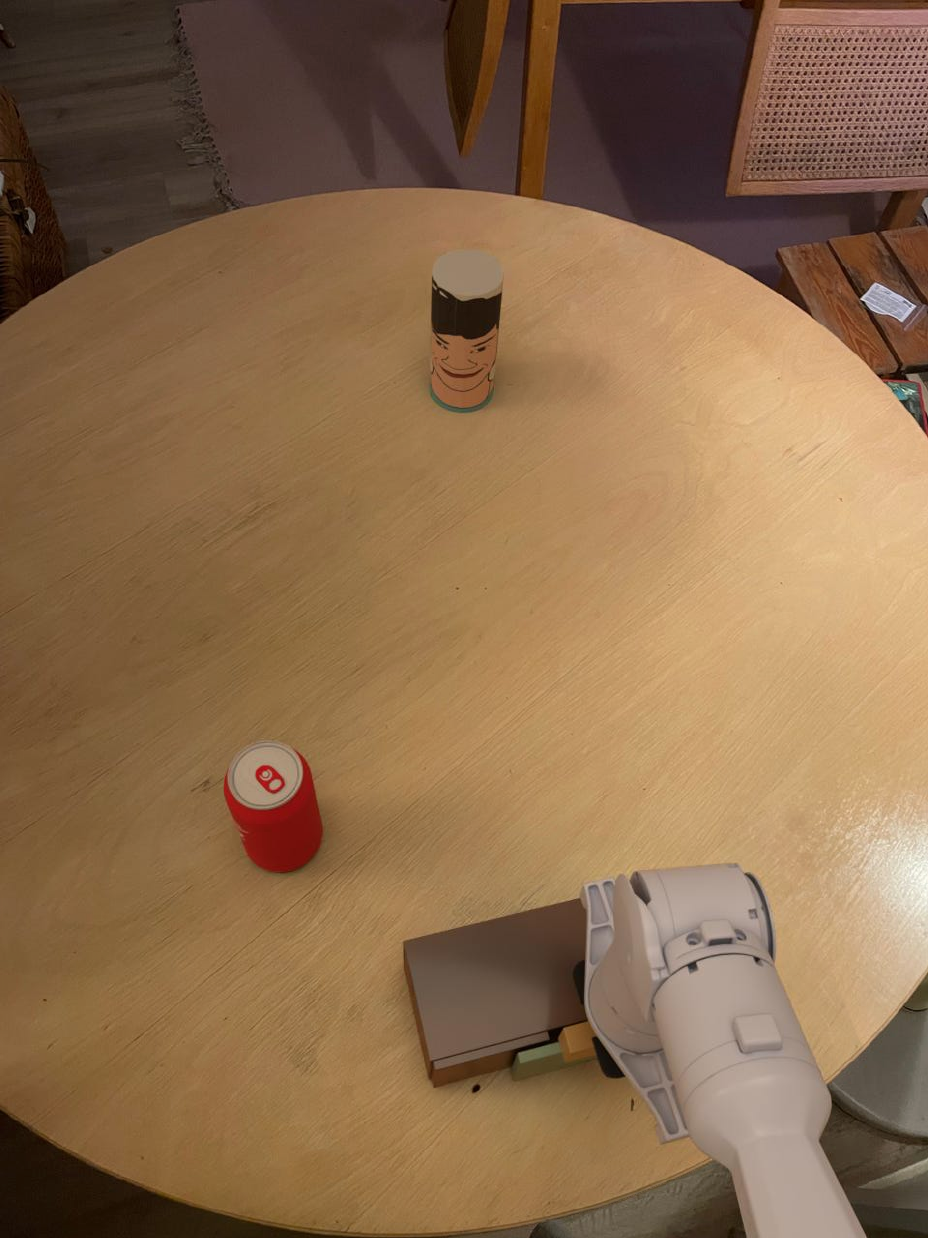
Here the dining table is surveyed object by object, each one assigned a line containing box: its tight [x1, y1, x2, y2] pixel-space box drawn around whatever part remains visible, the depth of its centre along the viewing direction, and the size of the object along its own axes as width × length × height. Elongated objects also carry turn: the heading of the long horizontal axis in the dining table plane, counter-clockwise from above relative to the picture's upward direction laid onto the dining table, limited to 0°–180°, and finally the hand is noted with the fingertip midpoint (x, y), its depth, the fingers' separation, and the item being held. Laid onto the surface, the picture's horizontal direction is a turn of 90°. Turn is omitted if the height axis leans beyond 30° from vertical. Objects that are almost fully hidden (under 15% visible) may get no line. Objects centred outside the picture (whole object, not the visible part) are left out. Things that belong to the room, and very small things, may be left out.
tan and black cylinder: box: [429, 248, 505, 413], centre depth 103 cm, size 7×7×15 cm
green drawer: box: [509, 1021, 598, 1082], centre depth 69 cm, size 2×8×10 cm, turn 104°
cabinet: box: [402, 897, 588, 1088], centre depth 73 cm, size 9×16×7 cm, turn 104°
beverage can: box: [223, 739, 324, 873], centre depth 77 cm, size 6×6×12 cm
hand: (612, 1034), depth 67 cm, fingers closed on green drawer, 2 cm apart
